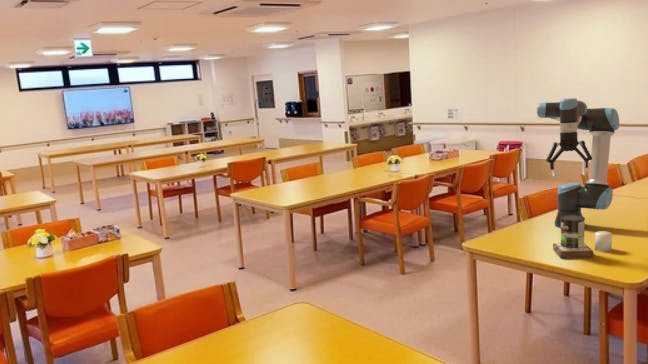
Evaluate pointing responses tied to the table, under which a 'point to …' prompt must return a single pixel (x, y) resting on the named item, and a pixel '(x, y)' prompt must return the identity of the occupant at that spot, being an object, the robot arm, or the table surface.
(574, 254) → the picture frame
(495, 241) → the table surface
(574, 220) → the coffee can
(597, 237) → the cream egg shape
